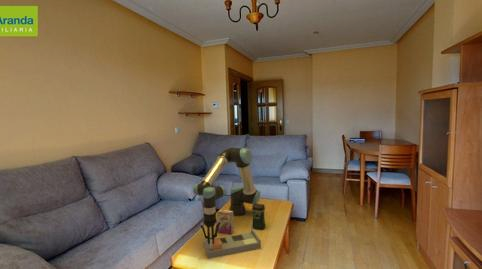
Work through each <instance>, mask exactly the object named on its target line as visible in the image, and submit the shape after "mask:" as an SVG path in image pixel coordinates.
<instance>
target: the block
mask: <svg viewBox="0 0 482 269" xmlns="http://www.w3.org/2000/svg"><path fill="white" fill-rule="evenodd" d="M215 239H216V240H214V243H212V246H213V249H212V250H213V251H214V250H219V249H222V242H221V240H220V239H217V238H215Z"/></svg>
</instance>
